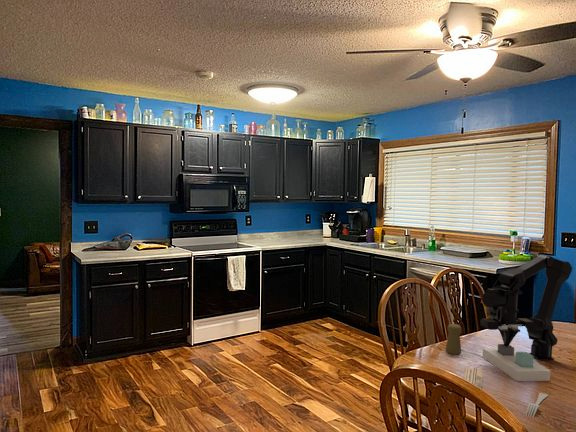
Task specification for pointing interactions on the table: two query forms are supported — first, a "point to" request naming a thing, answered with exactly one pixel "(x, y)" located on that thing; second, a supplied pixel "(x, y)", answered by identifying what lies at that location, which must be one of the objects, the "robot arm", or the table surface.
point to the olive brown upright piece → (453, 339)
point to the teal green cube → (524, 359)
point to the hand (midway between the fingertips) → (506, 346)
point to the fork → (536, 404)
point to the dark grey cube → (506, 350)
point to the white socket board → (516, 366)
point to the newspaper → (474, 376)
